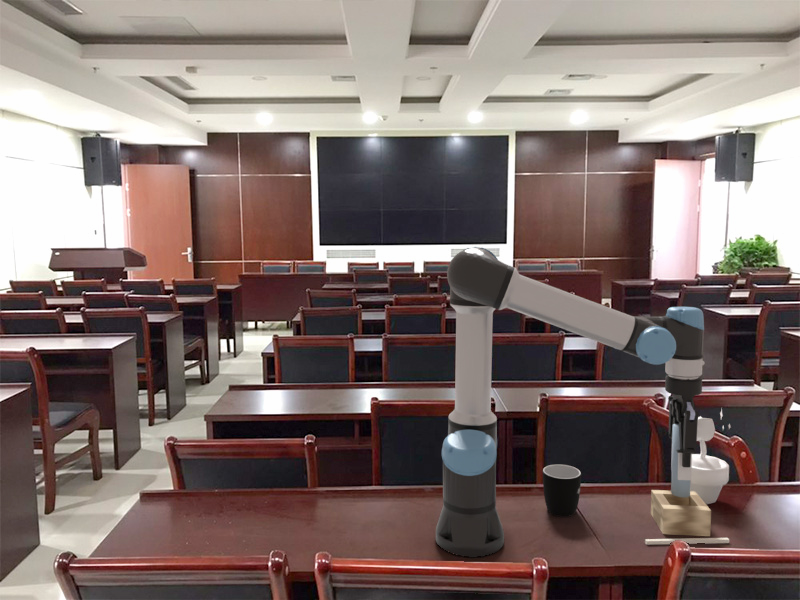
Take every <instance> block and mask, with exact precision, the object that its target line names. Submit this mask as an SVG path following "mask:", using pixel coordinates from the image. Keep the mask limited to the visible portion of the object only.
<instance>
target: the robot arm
mask: <svg viewBox="0 0 800 600" xmlns="http://www.w3.org/2000/svg"><path fill="white" fill-rule="evenodd" d="M446 276H447V282H448V285H449V288H450V289H449V291H450V292H449V294H450V295H449V297H450V298H449V305H450V306H451V307H452V308H453V310H455V311H454V312H456V314H455V317H456V318H455V372H454V373H455V374H454V375H455V377H454V379H455V380H454V381H455V382H454V383H455V387H454V391H455V392H454V409H453V411H451V412H450V413H449V415H448V429H447V436H446V437H445V438H444V440H443V443H442V448H441V458H442V502H443V503H442V504H443V505H442V509H441V511H440V514H439V518H438V522H437V524H436V527H435V542H436V544H437V546H438V545H439V546H440V547H441V548H440V547H439V546H438V547H439V548H440V549H442V548H443V549H444V550H443V549H442V550H443V551H445V550H446V551H449V552H451V553H454V554H457V555H456V556H458V555H462V556H461V557H464V556H469V557H468V558H478V557H477V556H481V557H486V556H485V555H487V556H490V555H493V554H494V553H496V552H499V551H500V550H501V549H502V548H503V546H504V543H505V532H504V528H503V525H502V521H501V519H500V515H499V512H498V510H497V503H496V501H497V499H496V498H497V487H496V486H497V454H498V453H497V452H498V451H497V449H498V438H497V435H498V434H497V432H498V431H497V428H498V427H497V425H498V424H497V422H498V421H497V420H498V418H497V416H496V414H494V412H492V410H491V409H492V407H491V406H492V404H491V403H492V363H493V361H492V360H493V359H492V358H493V319H494V317H493V315H494V311H495V310H497V311H502V310H504V309H509V310H512V311H514V312H517V313H520V314H522V315H526V316H527V317H530V318H534V319H535V320H539V321H541V322H543V323H547V324H550V325H553V326H554V327H557V328H561V329H563V330H566V331H567V332H570V333H574V334H576V335H579V336H582V337H585V338H587V339H590V340H592V341H595V342H598V343H601V344H602V345H603V344H604V345H606V346H608V347H611V348H613V349H615V350H619V351H622V352H624V353H626V354H629V355H632V356H635V357H637V358H639V359H640V360H641V361H643V362H644V363H647V364H651V365H655V366H658V365H662V364H663V365H664V364H665V370H664V371H665V373H666V375H665V380H664V383H665V385H664V388H665V392H666V393H669V394H671V395H669V396H668V398H667V399H668V438H669V439H670V442H671V443H672V432H673V424H679V436H680V450H677V453H678V480H691V470H692V454H697V442H698V441H697V421H698V417H700V416H699V415H700V412H699V410H696V404H695V402H694V397H695V396H699V395H701V394H702V393H703V378H702V377H701V376H702V375H703V366H705V363H706V362H705V361H704V360H703V353H704V352H703V351H704V333H705V322H704V321H705V320H704V319H705V318H704V312H703V311H702V309H700V308H698V307H694V306H671V307H668V309H667V310H666V314H665V315H663V316H636V315H635V316H633V315H631V314H627V313H625V312H621V311H619V310H617V309H614V308H612V307H609V306H606V305H603V304H600V303H599V302H595V301H592V300H589V299H586V298H585V297H581V296H579V295H576V294H573V293H570V292H568V291H566V290H563V289H561V288H558V287H555V286H552V285H550V284H547V283H544V282H541V281H538V280H536V279H534V278H530V277H527V276H525V275H522V274H520V272H519V271H518V269H517V267H514V266H512V265H509V264H506V263H504V262H502V261H501V260H499V259H498V258H497V256H496V255H495V254H494V253H493V252H491V251H490V250H489V249H487V248H484V247H477V246H474V247H473V246H471V247H467V248H464V249H462V250H461V251H460V252H458V253H456V255H454V256H453V258H452V259H451V260H450V261H449V264H448V267H447V270H446ZM670 465H671V466H670V470H671V472H672V457H671V462H670ZM446 551H445V552H446ZM449 552H448V553H449ZM451 553H450V554H451ZM492 553H493V554H492ZM454 554H453V555H454ZM489 554H490V555H489Z"/></svg>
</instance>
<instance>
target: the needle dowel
mask: <svg viewBox="0 0 800 600" xmlns="http://www.w3.org/2000/svg"><path fill="white" fill-rule="evenodd" d="M677 450H680V436H679V424H673V432H672V442H671V458H672V471H671V473H670V474H671V479H670V480H671V481H670V484H671V486H670V491H671V493H672V494H673V495H675V496H678V497H689V496H690V483H691V480H678V453H677Z"/></svg>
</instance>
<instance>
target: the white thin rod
mask: <svg viewBox="0 0 800 600" xmlns="http://www.w3.org/2000/svg"><path fill="white" fill-rule="evenodd" d="M675 540H682V541H685V542H687V543H689V544H690V545H695V544H697V543H705V544H730V538H728V537H700V538H699V537H698V538H697V537H696V538H694V537H693V538H689V537H688V538H652V539H651V538H646V539H645V538H644V543H645V545H650V546H651V545H671V544H670V543H671V542H673V541H675ZM689 544H688V545H689Z"/></svg>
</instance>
